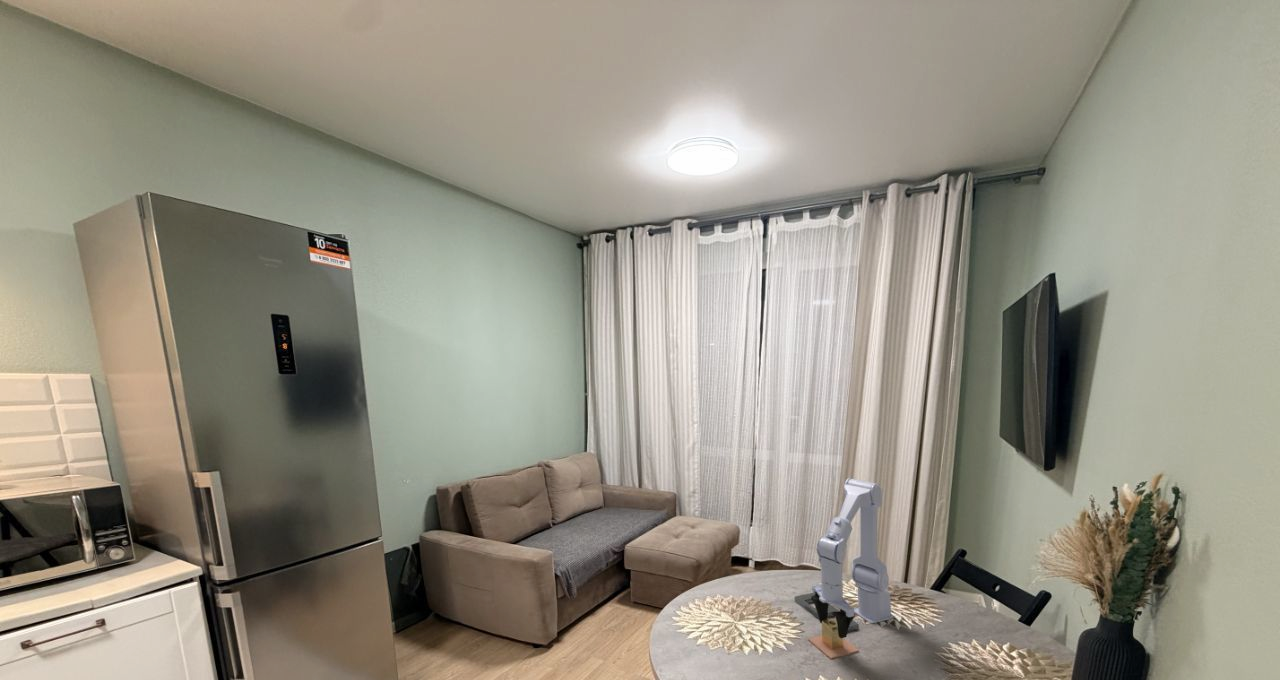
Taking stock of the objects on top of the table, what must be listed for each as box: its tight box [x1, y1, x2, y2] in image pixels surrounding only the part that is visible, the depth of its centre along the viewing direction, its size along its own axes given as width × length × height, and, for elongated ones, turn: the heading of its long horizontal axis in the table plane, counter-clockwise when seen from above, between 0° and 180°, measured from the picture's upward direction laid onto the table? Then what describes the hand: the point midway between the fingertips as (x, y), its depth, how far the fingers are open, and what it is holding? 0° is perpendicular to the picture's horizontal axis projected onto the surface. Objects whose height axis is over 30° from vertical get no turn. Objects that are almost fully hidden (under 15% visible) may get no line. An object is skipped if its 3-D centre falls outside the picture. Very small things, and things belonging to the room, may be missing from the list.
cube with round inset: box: [821, 617, 844, 650], centre depth 128 cm, size 4×4×6 cm
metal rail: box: [794, 592, 860, 633], centre depth 144 cm, size 8×20×2 cm, turn 19°
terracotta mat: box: [808, 635, 860, 660], centre depth 128 cm, size 10×9×1 cm
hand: (832, 629), depth 128 cm, fingers open, 7 cm apart
